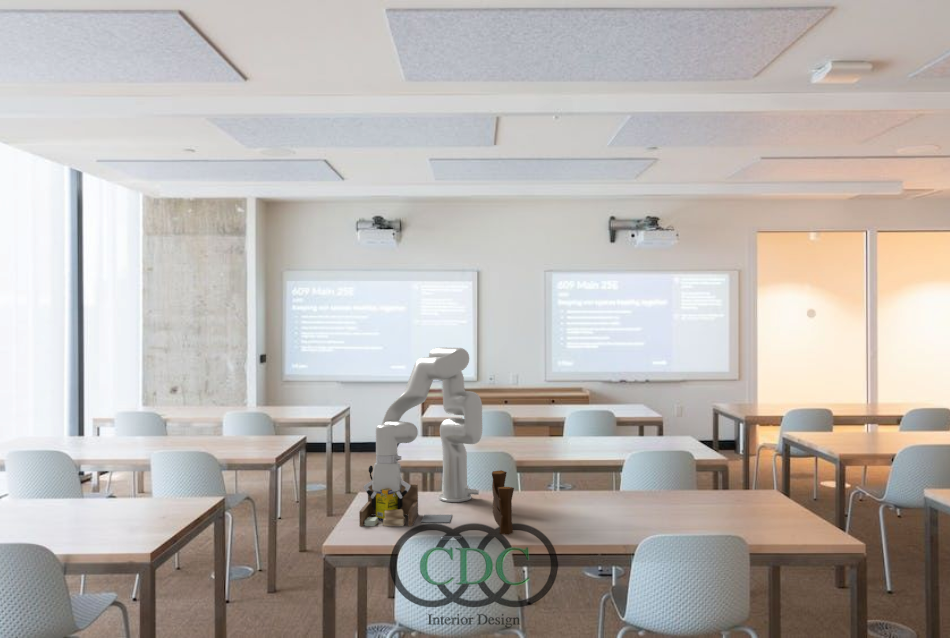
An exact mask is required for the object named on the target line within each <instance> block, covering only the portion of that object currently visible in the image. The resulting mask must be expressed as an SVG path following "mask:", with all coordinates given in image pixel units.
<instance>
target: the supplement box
mask: <svg viewBox="0 0 950 638" xmlns="http://www.w3.org/2000/svg"><path fill="white" fill-rule="evenodd" d="M385 510H398V495H397V494H396V492H392V490H389V489H381V490H380V492H377V494H376V515H375V517H378V521H382V522H383V519H384V518H385Z"/></svg>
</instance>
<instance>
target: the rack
mask: <svg viewBox="0 0 950 638" xmlns="http://www.w3.org/2000/svg"><path fill="white" fill-rule="evenodd" d="M408 484H409V485H410V486H411V487H410V489H409V490H408V492H407V493H406V494H405V495H404V496H403V506H402V507H401V509H402V510H403V516H408V517H407V519H408V522H407V523H408V525H407V526H408V527H413V525H414V523H415V521H416V519H417V517H418V516H419V484H418V483H408ZM369 489H370V490H371V491H372V492H374V491H373V489H372V485H371V486H369ZM405 489H406V487H405V486H403V485H402V488H401V489H400V490H401V491H402V492H403V491H404V490H405ZM358 513H359V517H358V518H359V527H364V526H365V520H366V519H367V518H368V517H372V516H376V510H374V507H372V498H371V497H370V496H369V495H368V494H367V502H366V503H365V504H364V505H363V507H362V508H361V509H360V510H359V512H358Z"/></svg>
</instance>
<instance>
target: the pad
mask: <svg viewBox="0 0 950 638" xmlns="http://www.w3.org/2000/svg"><path fill="white" fill-rule="evenodd" d="M452 518H453V514H424V515H423V516H422V519H421V521H420V524H450V523H451V521H452Z"/></svg>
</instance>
